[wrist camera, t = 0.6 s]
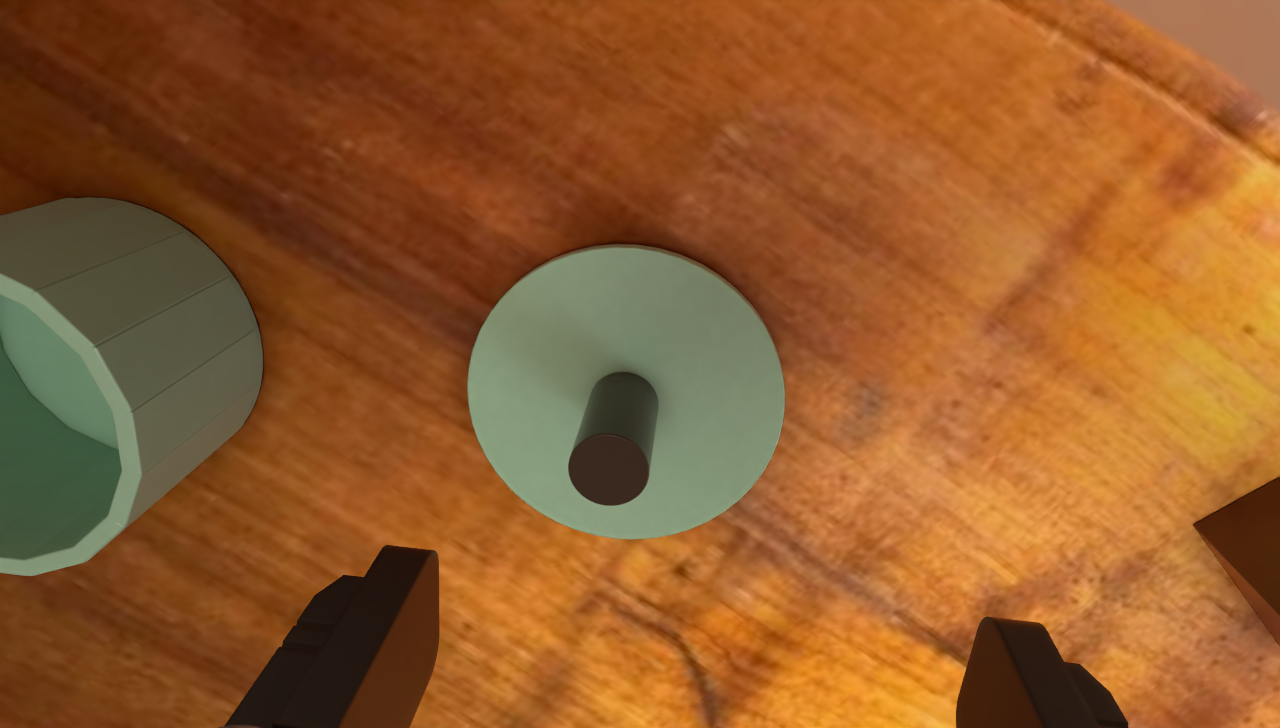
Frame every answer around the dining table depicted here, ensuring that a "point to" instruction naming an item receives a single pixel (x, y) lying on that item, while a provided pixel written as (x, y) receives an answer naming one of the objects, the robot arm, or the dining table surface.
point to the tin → (109, 372)
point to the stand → (1251, 549)
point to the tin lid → (626, 391)
